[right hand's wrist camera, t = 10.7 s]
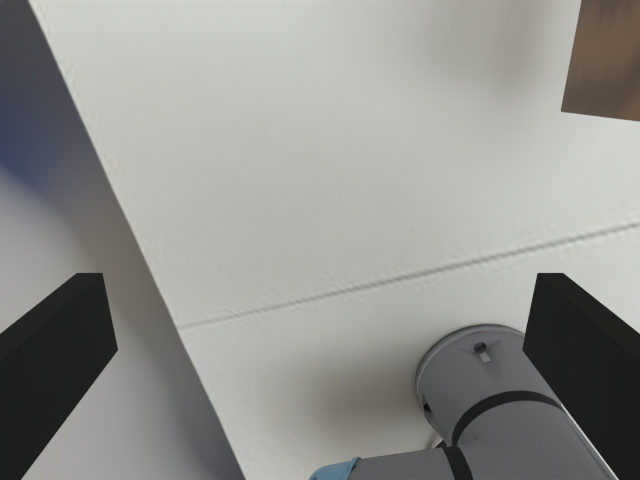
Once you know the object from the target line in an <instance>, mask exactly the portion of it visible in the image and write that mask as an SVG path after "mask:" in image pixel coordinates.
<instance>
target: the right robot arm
mask: <svg viewBox="0 0 640 480" xmlns="http://www.w3.org/2000/svg"><path fill="white" fill-rule="evenodd" d="M117 351H118V348H117V343H116V338H115V333H114V328H113V323H112V318H111V313H110V308H109V303H108V298H107V294H106V289H105V284H104V279H103V274H102V273H76V274H75V275H74V276H73V277H71V278H70V279H69V280H68V281H66V282H65V283H64V284H63V285H61V286H60V287H59V288H57V289H56V290H55V291H54V292H52V293H51V294H50V295H49V296H47V297H46V298H45V299H44V300H42V301H41V302H40V303H39V304H37V305H36V306H35V307H34V308H32V309H31V310H30V311H28V312H27V313H26V314H25V315H23V316H22V317H21V318H20V319H18V320H17V321H16V322H15V323H13V324H12V325H11V326H10V327H8V328H7V329H6V330H5V331H3V332H2V333H1V334H0V480H21V479H22V478H23V476H24V475H25V474H26V472H27V471H28V469H29V468H30V467H31V465H32V464H33V463H34V461H35V460H36V459H37V457H38V456H39V455H40V453H41V452H42V451H43V449H44V448H45V447H46V445H47V444H48V443H49V441H50V440H51V439H52V437H53V436H54V435H55V433H56V432H57V431H58V429H59V428H60V427H61V425H62V424H63V423H64V421H65V420H66V419H67V417H68V416H69V415H70V413H71V412H72V411H73V409H74V408H75V407H76V405H77V404H78V403H79V401H80V400H81V399H82V397H83V396H84V395H85V393H86V392H87V391H88V389H89V388H90V387H91V385H92V384H93V383H94V381H95V380H96V379H97V377H98V376H99V375H100V373H101V372H102V371H103V369H104V368H105V367H106V365H107V364H108V363H109V361H110V360H111V359H112V357H113V356H114V355H115V353H116V352H117ZM415 390H416V395H417V398H418V402H419V405H420V408H421V410H422V412H423V414H424V416H425V417H426V419H427V421H428V422H429V423H430V425H431V426H432V427H433V428H434V429H435V431H436V432H437V433H438V434H439V435H440V437H441V438H442V439H443V441H442V442H441V443H439V444H438V445H437V446H436V447H435V448H434V449H428V450H421V451H414V452H407V453H400V454H393V455H386V456H379V457H373V458H366V459H361V457H355V458H353V459H352V460H351V461H348V462H343V463H338V464H333V465H328V466H324V467H321V468H319V469H318V470H317V471H315V472H314V473H313V475H312V476H311V477H310V479H309V480H616V478H615V477H614V476H613V474H612V473H611V472H610V470H609V469H608V468H607V466H606V465H605V464H604V462H603V461H602V460H601V458H600V457H599V456H598V454H597V453H596V452H595V450H594V449H593V448H592V446H591V445H590V444H589V442H588V441H587V440H586V438H585V437H584V436H583V434H582V433H581V432H580V430H579V429H578V428H577V426H576V425H575V424H574V422H573V421H572V420H571V419H570V417H569V416H568V415H567V413H566V412H565V411H564V409H563V408H562V406H561V403H562V404H563V405H564V407H565V408H566V409H567V411H568V412H569V413H570V415H571V416H572V417H573V419H574V420H575V421H576V423H577V424H578V425H579V427H580V428H581V429H582V431H583V432H584V433H585V435H586V436H587V437H588V439H589V440H590V441H591V443H592V444H593V445H594V447H595V448H596V449H597V451H598V452H599V453H600V455H601V456H602V457H603V459H604V460H605V461H606V463H607V464H608V465H609V467H610V468H611V469H612V471H613V472H614V474H615V475H616V476H617V478H618V479H619V480H640V334H639V333H638V332H637V331H635V330H634V329H633V328H632V327H630V326H629V325H628V324H627V323H625V322H624V321H623V320H622V319H620V318H619V317H618V316H617V315H615V314H614V313H613V312H612V311H610V310H609V309H608V308H606V307H605V306H604V305H603V304H601V303H600V302H599V301H598V300H596V299H595V298H594V297H593V296H591V295H590V294H589V293H588V292H586V291H585V290H584V289H583V288H581V287H580V286H579V285H577V284H576V283H575V282H574V281H572V280H571V279H570V278H569V277H567V276H566V275H565V274H564V273H538V274H537V279H536V284H535V289H534V294H533V298H532V303H531V308H530V313H529V318H528V323H527V328H526V333H525V335H524V334H523V333H521V332H519V331H517V330H514V329H512V328H508V327H504V326H498V325H481V326H474V327H469V328H465V329H462V330H460V331H457V332H455V333H453V334H451V335H449V336H447V337H445V338H444V339H442V340H441V341H439V342H438V343H437V344H436V345H435V346H434V347H432V348H431V349H430V351H429V352H428V353H427V354H426V356H425V357H424V358H423V360H422V362H421V363H420V366H419V368H418V371H417V374H416V379H415ZM560 401H561V402H560ZM447 446H449V447H447Z"/></svg>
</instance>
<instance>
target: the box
mask: <svg viewBox="0 0 640 480" xmlns="http://www.w3.org/2000/svg"><path fill="white" fill-rule="evenodd" d="M561 112H567V113H575V114H583V115H591V116H599V117H607V118H615V119H623V120H631V121H639V122H640V0H582V1H581V7H580V12H579V17H578V22H577V28H576V33H575V38H574V44H573V49H572V54H571V59H570V65H569V70H568V75H567V81H566V86H565V91H564V96H563V102H562V107H561Z"/></svg>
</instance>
